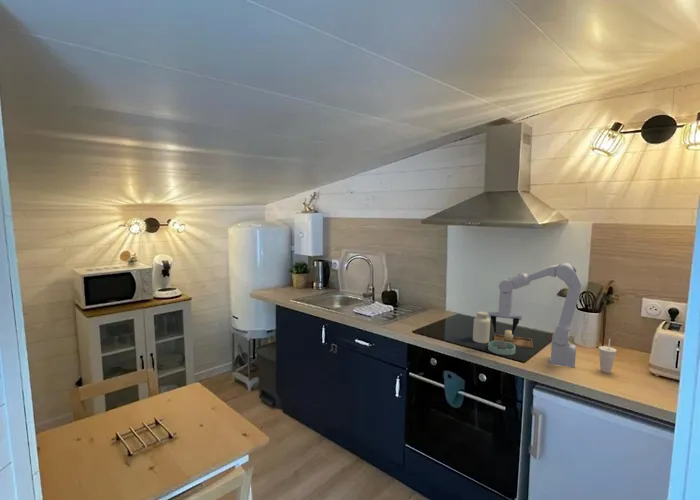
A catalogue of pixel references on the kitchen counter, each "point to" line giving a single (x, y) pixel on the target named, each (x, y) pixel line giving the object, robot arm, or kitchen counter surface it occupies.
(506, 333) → the pebble
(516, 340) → the tray
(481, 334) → the pill bottle
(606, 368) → the smoothie
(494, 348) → the bowl
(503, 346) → the pebble
